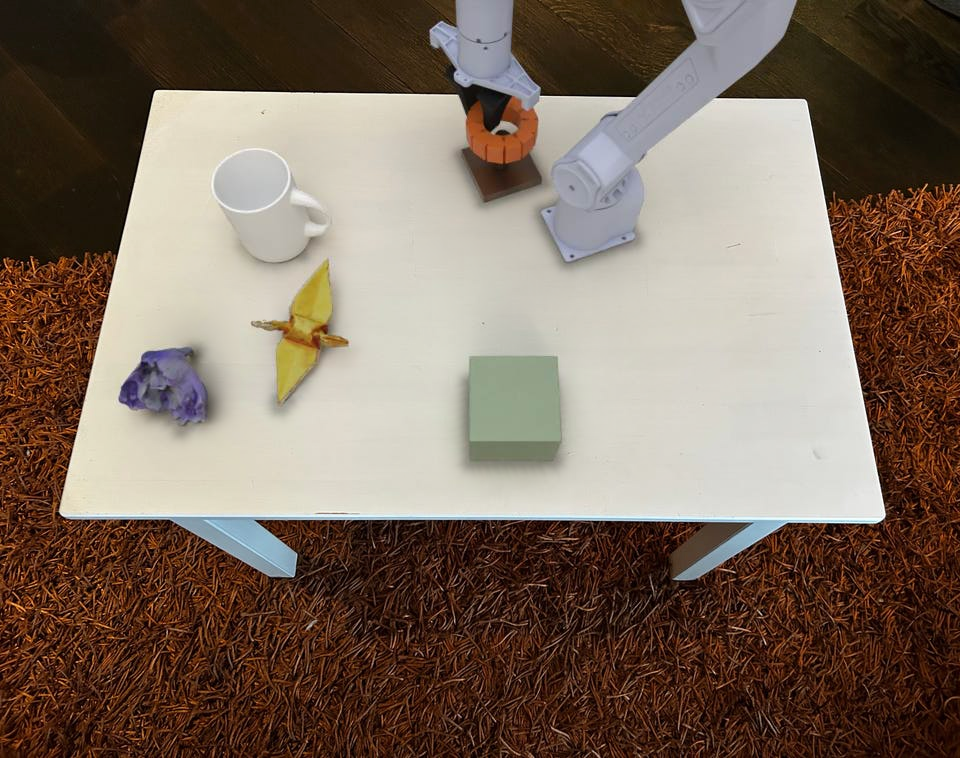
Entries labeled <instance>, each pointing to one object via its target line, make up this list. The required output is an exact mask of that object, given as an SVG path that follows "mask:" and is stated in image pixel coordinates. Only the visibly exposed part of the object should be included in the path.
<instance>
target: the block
mask: <svg viewBox="0 0 960 758" xmlns="http://www.w3.org/2000/svg"><path fill="white" fill-rule="evenodd" d="M468 357H469V358H468V360H469V362H468V363H469V365H468V369H469V370H468V372H469V375H468V378H469V380H468V393H469V394H468V401H469V402H468V419H469V420H468V447H469V462H553V461H554V459H555V457H556V454H557V451H558V450H559V447H560V445H561V443H562V441H563V439H562V438H563V437H562V421H561V419H562V417H561V401H560V400H561V399H560V397H561V396H560V381H559V379H560V378H559V361H558V357H559V356H557V355H526V356H525V355H523V356H522V355H497V356H496V355H495V356H494V355H470V356H468Z"/></svg>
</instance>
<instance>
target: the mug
mask: <svg viewBox="0 0 960 758" xmlns="http://www.w3.org/2000/svg"><path fill="white" fill-rule="evenodd" d="M210 188H211V192H212V196H213V197H214V199H215V201H216V202H217V204H218V206H219V208H220V209H221V211H222V212H223V214H224V215H225V217H226V219H227V220H228V222H229V224H230V225H231V228H232V229H233V230H234V232H235V234H236V236H237V237H238V239H239V241H240V242H241V243H242V246H243V247H244V248H245V249H246V251H247V252H248V253H249V254H250V255H251V256H253V257H254V258H256V259H257V260H260V261H262V262H267V263H283V262H287V261H290V260H291V259H294V258H296V257H297V256H299V255H300V254H301V253H302V252H303V251H305V249H306V247H307V246H308V244H309V243H310V240H311V238H314V237H320V236H323V235H324V234H326V233H327V232H328V231H330V229H331V227H332V217H331V214H330V212H329V210H328V209H327V207H326V206H325V205H324V204H323V203H322V202H321V201H320V200H319V199H317V198H315V197H314V196H312V195H310V194H309V193H306V192H305V191H302V190H301V189H299V188H298V186H297V183H296V181H295V179H294V177H293V174H292V171H291V169H290V166H289V164H288V163H287V161H286V159H284V158H283V156H281V155H280V154H278V153H276V152H275V151H272V150H270V149H266V148H262V147H250V148H244V149H241V150H237V151H235V152H233V153H231V154H229V155H228V156H227V157H224V158H223V159H222V160H221V161H220V162H219V163H218V164H217V166H216V167H215V169H214V171H213V174H212V176H211V182H210ZM307 208H310V209H313V210H316V211H318V212H320V213H321V214H323V215H324V216H325V218H327V222H326V223H324V224H319V223H315V222H313V221H311V218H310V216H309V213H308V210H307Z"/></svg>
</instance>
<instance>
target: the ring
mask: <svg viewBox="0 0 960 758" xmlns="http://www.w3.org/2000/svg"><path fill="white" fill-rule="evenodd" d="M501 122H504V123H505V122H506V123H510V124H511V125H513V126H515V127H516V128H517V129H516V130H515V131H514V132H512V133H513V134H512V133H510V134H509V135H506V136H499V135H495V134H493V133H492V132H489V131H487V130H486V129H485V126H484V123H483V111H482V107H481V104H480V102H479V101H478V102H476V103H475V104H474V105H473V106H472V107H471V108H470V110H469V111H468V115H467V116H466V118H465V135H466V136H465V137H466V141H467V143H468V147H470V148H471V150H473V152H474V153H475V154H476V155H478V156H479V157H481V158H482V159H484V160H485V159H487V161H488V162H494V163H501V164H503V161H505V163H510V162H513V161H517V160H520V159H521V157H522V158H524V157H525V156H526V155H527V154H528V153H529V154H530V152H532V150H534V147H535V146H536V143H537V138H538V134H539V133H538V130H539V117H538V114H537V112H536V111H535V108H534V106H533V107H532V108H531V109H530V110H529V111H526V110H525V109H523V108H522V107H521V100H519V99H518V98H516V97H515V96H512V98H511V99H510V101H509V103H508V104H507V106H506V108H505V111H504V113H503V116H502V119H501Z"/></svg>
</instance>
